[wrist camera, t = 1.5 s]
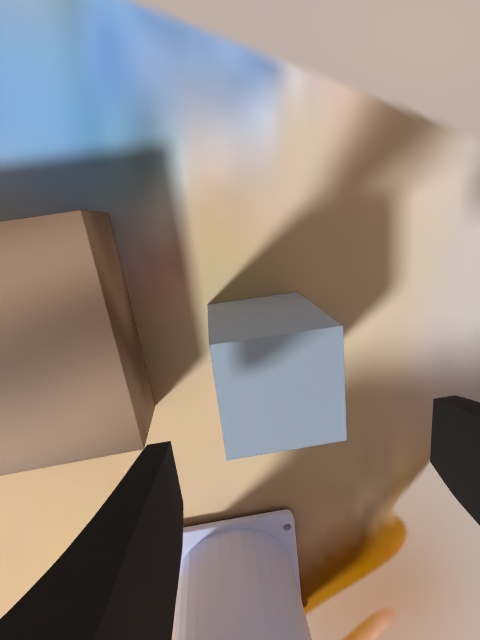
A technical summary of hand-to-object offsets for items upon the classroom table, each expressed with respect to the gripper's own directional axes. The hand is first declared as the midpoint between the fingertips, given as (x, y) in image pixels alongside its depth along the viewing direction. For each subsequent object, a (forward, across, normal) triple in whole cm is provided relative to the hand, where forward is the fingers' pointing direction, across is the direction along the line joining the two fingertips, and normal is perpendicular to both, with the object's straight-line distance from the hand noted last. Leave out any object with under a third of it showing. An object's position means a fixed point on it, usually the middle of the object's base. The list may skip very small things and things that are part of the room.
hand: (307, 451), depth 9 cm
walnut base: (+9, +11, -2) cm, 15 cm away
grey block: (+9, 0, 0) cm, 9 cm away
